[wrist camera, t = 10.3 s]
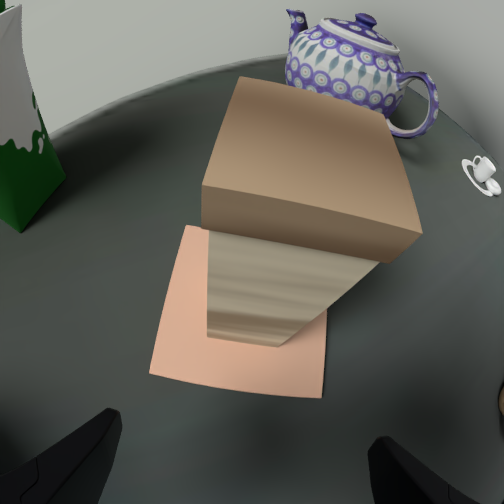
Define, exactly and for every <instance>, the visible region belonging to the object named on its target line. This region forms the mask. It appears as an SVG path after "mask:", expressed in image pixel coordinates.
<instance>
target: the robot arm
mask: <svg viewBox="0 0 504 504" xmlns="http://www.w3.org/2000/svg"><path fill="white" fill-rule="evenodd" d="M121 432H122V421H121V415H120V412H119V411H118V410H115V409H112V408H106V409H105V410H104V411H102V412H101V413H99V414H98V415H96V416H95V417H94V418H92V419H91V420H89V421H88V422H87V423H85V424H84V425H82V426H81V427H79V428H78V429H76V430H75V431H74V432H72V433H71V434H69V435H68V436H66V437H65V438H63V439H62V440H60V441H59V442H57V443H56V444H54V445H53V446H51V447H50V448H48V449H47V450H45V451H44V452H42V453H41V454H39V455H38V456H37V457H34V458H33V459H31V460H30V461H28V462H26V463H25V464H23V465H21V466H20V467H18V468H16V469H14V470H12V471H9V472H7V473H5V474H3V475H0V504H98V501H99V499H100V496H101V494H102V491H103V489H104V486H105V483H106V481H107V478H108V476H109V474H110V471H111V468H112V466H113V462H114V458H115V454H116V450H117V446H118V443H119V439H120V435H121ZM368 462H369V471H370V481H371V488H372V493H373V497H374V502H375V504H480V503H478V502H476V501H474V500H472V499H471V498H469V497H467V496H466V495H464V494H462V493H461V492H459V491H458V490H457V489H455V488H454V487H452V486H451V485H450V484H448V483H447V482H446V481H444V480H443V479H442V478H440V477H439V476H438V475H437V474H435V473H434V472H433V471H431V470H430V469H429V468H428V467H426V466H425V465H424V464H422V463H421V462H420V461H419V460H417V459H416V458H415V457H414V456H412V455H411V454H410V453H409V452H408V451H406V450H405V449H404V448H403V447H401V446H400V445H399V444H398V443H397V442H395V441H394V440H393V439H392V438H391V437H389V436H381V437H378V438H377V439H376V440H375V442H374V443H373V444H372V446H371V447H370V448H369V450H368Z"/></svg>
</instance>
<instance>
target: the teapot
mask: <svg viewBox="0 0 504 504" xmlns="http://www.w3.org/2000/svg"><path fill="white" fill-rule="evenodd" d="M286 11H287V12H288V14H289V16H290V19H291V31H290V39H289V53H288V57H287V60H286V66H285V77H286V83H287V85H288V86H293V87H297V88H301V89H305V90H309V91H313V92H316V93H320V94H324V95H327V96H331V97H334V98H337V99H341V100H344V101H347V102H350V103H353V104H356V105H359V106H362V107H365V108H368V109H370V110H373V111H376V112H378V113H381V114H383V115H384V117H385V119H386V122H387V124H388V126H389V129H390V131H391V134H392V136H395V137H398V138H404V139H411V138H417V137H420V136H422V135H423V134H425V133H426V132H427V131H428V130H429V129H430V128H431V126H432V125H433V123H434V122H435V120H436V118H437V114H438V94H437V89H436V86H435V83H434V81H433V80H432V78H431V77H430V76H429V75H428V74H427V73H424V72H420V71H411V72H405V71H404V69H403V66H402V63H401V61H400V58H399V56H398V54H399V53H400V50H399V48H398V47H397V46H396V45H394V44H393V43H391V42H390V41H388V40H387V39H386V38H384V37H383V36H382V35H380V34H379V33H377V32H375V31H373V30H372V27H373V26H375V25H376V24H377V23H376V20H375V19H374V18H373V17H372V16H370V15H367V14H364V13H359V14H356V15H355V17H356V21H355V22H350V21H344V20H339V19H333V18H322V19H321V21H320V23H319V24H318V25H317V26H315V27H313V28H311V29H308V26H307V21H306V17H305V14H304V13H303V11H300V10H290V9H287V10H286ZM415 79H419V80H421V81H422V82H423V83H424V84H425V86H426V88H427V92H428V96H429V109H428V114H427V117H426V119H425V121H424V122H423V124H422V125H420V126H419V127H418V128H416V129H413V130H401V129H399V128H397V127H395V126H393V125H392V124H391V122H390V120H389V116H390V115H391V114H392V113H393V112H394V110H395V109H396V108H397V106H398V105H399V103H400V102H401V100H402V98H403V96H404V92H405V87H406V86H407V85H408V84H409V83H410V82H411V81H412V80H415Z"/></svg>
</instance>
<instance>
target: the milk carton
mask: <svg viewBox="0 0 504 504" xmlns="http://www.w3.org/2000/svg"><path fill="white" fill-rule="evenodd" d="M4 4H5V0H0V218H1V219H2V220H3V221H5V222H6V223H7V224H9V225H10V226H11V227H13V228H14V229H15V230H17V231H18V232H19V233H21V232H22V231H23V229H24V228H25V227H26V225H27V224H28V223H29V221H30V220H31V219H32V217H33V216H34V215H35V214H36V212H37V211H38V210H39V209H40V207H41V206H42V205H43V204H44V202H45V201H46V200H47V199H48V198H49V197H50V195H51V194H52V193H53V192H54V191H55V190H56V188H57V187H58V186H59V185H60V184H61V183H62V182H63V181H64V180H65V178H66V175H65V173H64V171H63V169H62V166H61V164H60V162H59V160H58V157H57V155H56V153H55V150H54V148H53V145H52V143H51V141H50V138H49V136H48V133H47V131H46V128H45V125H44V123H43V120H42V117H41V114H40V111H39V108H38V105H37V102H36V99H35V96H34V92H33V89H32V86H31V82H30V79H29V75H28V71H27V67H26V63H25V59H24V55H23V49H22V32H21V31H22V30H21V29H22V28H21V16H22V5H21V4H19V5H17V6H12V7H10V8H7V9H5V5H4Z"/></svg>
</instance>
